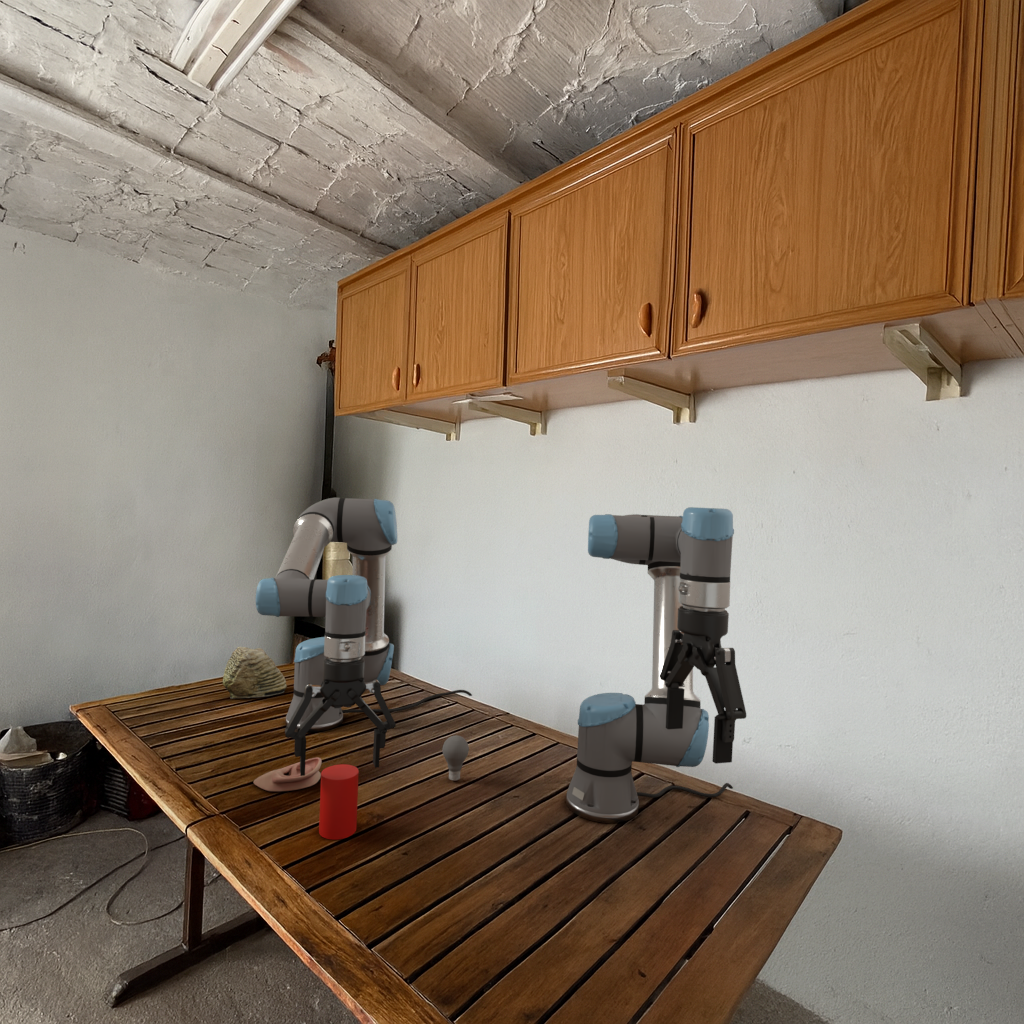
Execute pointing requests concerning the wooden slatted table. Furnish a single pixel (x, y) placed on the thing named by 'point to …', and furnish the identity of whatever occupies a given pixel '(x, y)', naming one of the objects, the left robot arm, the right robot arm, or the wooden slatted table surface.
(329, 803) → the canister
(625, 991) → the wooden slatted table surface
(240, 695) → the fossil
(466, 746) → the light bulb
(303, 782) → the anatomical model
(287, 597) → the left robot arm
